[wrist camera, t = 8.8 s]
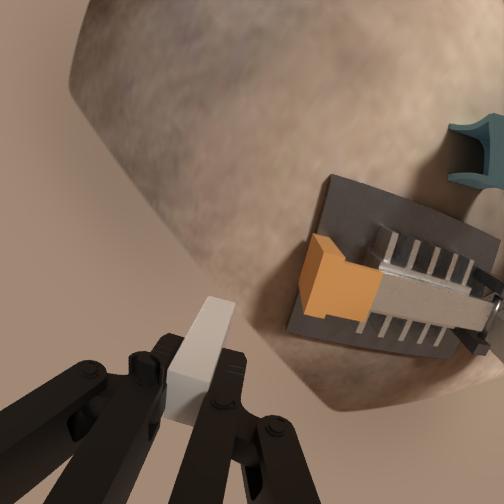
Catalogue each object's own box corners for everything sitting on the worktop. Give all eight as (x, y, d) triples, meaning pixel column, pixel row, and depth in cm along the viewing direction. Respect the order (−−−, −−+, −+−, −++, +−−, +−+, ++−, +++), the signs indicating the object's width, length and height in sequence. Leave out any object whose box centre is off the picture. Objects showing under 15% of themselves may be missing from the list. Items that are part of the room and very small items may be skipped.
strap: (381, 259, 27) (386, 264, 26) (499, 295, 27) (505, 299, 25) (362, 311, 29) (365, 318, 27) (481, 334, 28) (487, 340, 27)
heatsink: (330, 174, 32) (347, 173, 23) (495, 238, 31) (530, 252, 23) (285, 326, 37) (286, 364, 29) (446, 354, 36) (469, 384, 28)
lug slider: (312, 232, 32) (324, 252, 24) (360, 246, 32) (385, 268, 24) (298, 281, 34) (303, 314, 26) (345, 293, 33) (362, 326, 25)
